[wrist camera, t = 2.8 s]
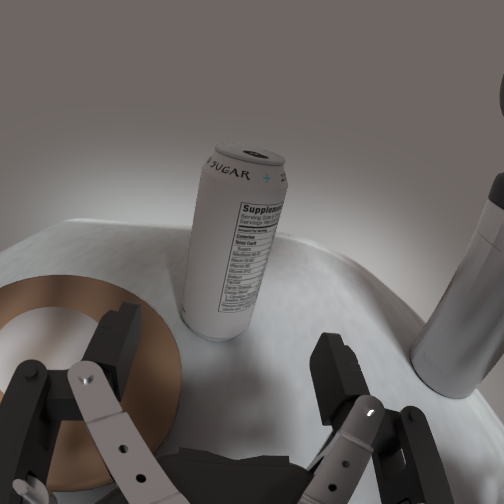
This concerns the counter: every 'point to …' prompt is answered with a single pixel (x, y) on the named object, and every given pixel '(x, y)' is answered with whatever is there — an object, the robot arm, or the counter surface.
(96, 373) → the robot arm
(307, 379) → the counter surface
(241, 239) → the energy drink can
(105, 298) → the disc
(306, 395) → the counter surface
